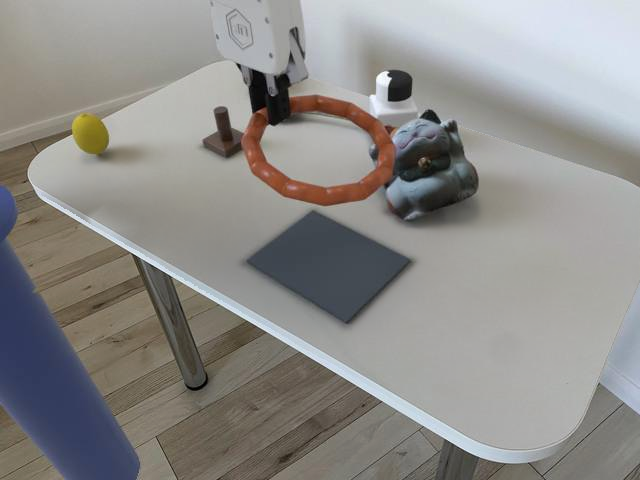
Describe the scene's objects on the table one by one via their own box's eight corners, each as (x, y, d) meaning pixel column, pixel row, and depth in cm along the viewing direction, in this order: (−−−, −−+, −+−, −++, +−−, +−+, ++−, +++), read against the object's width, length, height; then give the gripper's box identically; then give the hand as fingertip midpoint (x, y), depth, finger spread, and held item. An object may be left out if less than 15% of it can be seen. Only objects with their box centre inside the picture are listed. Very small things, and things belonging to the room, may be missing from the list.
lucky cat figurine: (384, 228, 82) (357, 136, 77) (388, 207, 93) (365, 125, 88) (485, 203, 79) (464, 105, 74) (477, 184, 90) (458, 98, 85)
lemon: (105, 142, 101) (90, 102, 95) (120, 154, 98) (105, 113, 92) (76, 154, 98) (59, 114, 92) (91, 167, 95) (73, 125, 89)
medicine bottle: (407, 126, 103) (410, 63, 94) (416, 147, 97) (420, 82, 89) (369, 130, 102) (369, 67, 94) (376, 151, 97) (377, 86, 88)
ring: (327, 234, 58) (329, 221, 56) (210, 147, 63) (209, 133, 61) (421, 158, 67) (425, 145, 66) (313, 88, 72) (315, 75, 71)
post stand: (226, 158, 96) (218, 122, 91) (203, 146, 99) (195, 111, 94) (251, 143, 99) (245, 107, 95) (228, 132, 102) (222, 97, 97)
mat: (346, 323, 69) (346, 321, 69) (246, 262, 77) (246, 259, 77) (410, 262, 77) (410, 259, 76) (313, 212, 85) (313, 209, 85)
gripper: (167, -56, 56) (205, 110, 68) (281, -28, 48) (299, 153, 61) (223, -72, 60) (249, 87, 73) (336, -49, 52) (342, 124, 65)
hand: (272, 116), depth 67 cm, fingers closed on ring, 2 cm apart
